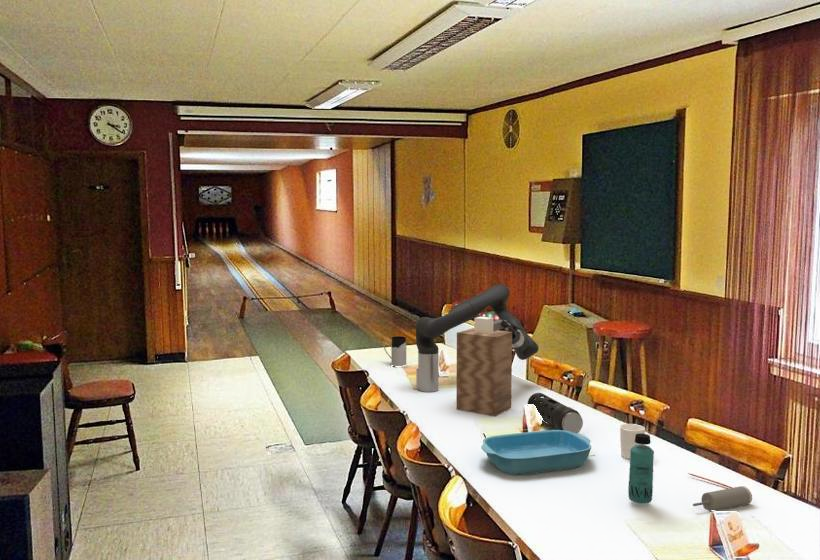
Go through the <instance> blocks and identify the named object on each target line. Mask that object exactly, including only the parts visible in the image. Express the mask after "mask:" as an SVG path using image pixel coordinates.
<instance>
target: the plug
mask: <svg viewBox="0 0 820 560" xmlns="http://www.w3.org/2000/svg"><path fill="white" fill-rule="evenodd" d="M493 319H494V317H489V316H476V317H475V318H474V327H473V328H474V333H482V334H489V333H493V331H496V330H500V329H503V328H504V327H503V326H502V325H501V321H502V320H501V319H494V320H495V321H493ZM504 321H505V322H506V323H507V320H504Z"/></svg>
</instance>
